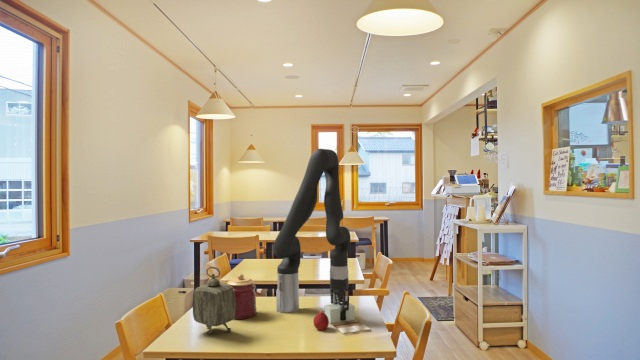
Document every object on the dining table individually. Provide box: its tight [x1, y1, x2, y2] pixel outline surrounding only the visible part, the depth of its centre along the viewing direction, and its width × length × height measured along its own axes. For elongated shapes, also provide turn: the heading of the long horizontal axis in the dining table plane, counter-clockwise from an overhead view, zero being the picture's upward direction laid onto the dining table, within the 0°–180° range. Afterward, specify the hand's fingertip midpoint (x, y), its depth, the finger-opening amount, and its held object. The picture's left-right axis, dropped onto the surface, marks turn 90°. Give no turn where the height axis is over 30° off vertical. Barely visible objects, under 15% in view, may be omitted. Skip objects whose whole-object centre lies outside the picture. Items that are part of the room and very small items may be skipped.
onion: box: [312, 310, 330, 331], centre depth 165 cm, size 6×6×8 cm
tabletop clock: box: [192, 266, 235, 335], centre depth 166 cm, size 14×9×25 cm, turn 59°
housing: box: [324, 302, 356, 324], centre depth 176 cm, size 11×6×6 cm, turn 111°
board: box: [329, 319, 373, 337], centre depth 170 cm, size 11×22×1 cm, turn 21°
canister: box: [226, 273, 257, 320], centre depth 187 cm, size 13×13×18 cm
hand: (339, 317), depth 176 cm, fingers closed on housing, 6 cm apart
